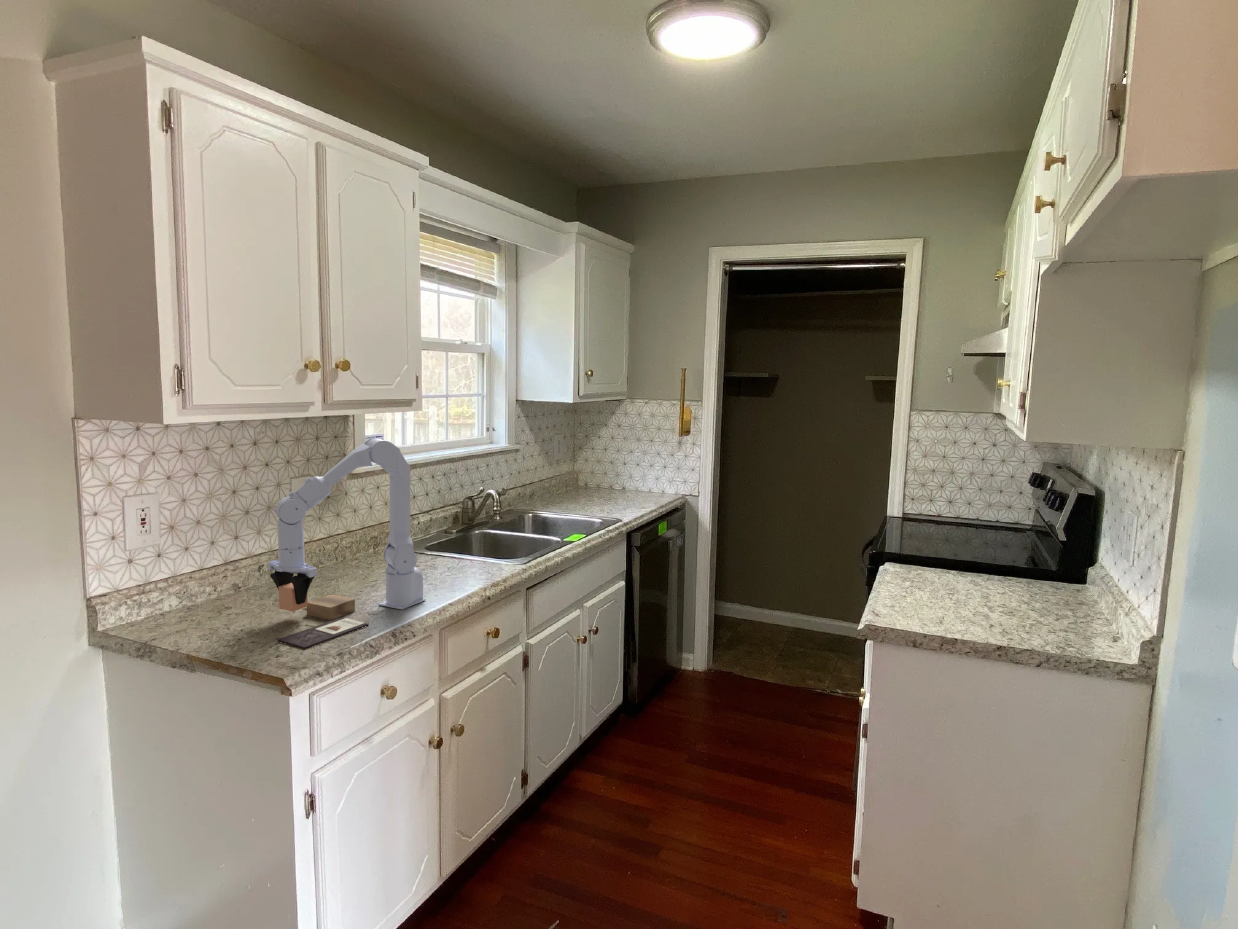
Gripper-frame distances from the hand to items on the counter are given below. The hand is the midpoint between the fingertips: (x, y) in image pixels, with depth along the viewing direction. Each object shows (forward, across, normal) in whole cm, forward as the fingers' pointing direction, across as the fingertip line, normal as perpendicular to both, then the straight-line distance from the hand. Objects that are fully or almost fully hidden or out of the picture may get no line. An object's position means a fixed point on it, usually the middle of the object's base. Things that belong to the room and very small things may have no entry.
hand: (293, 601), depth 179 cm
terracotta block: (+2, 0, 0) cm, 2 cm away
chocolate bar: (+5, +14, -4) cm, 15 cm away
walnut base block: (+5, +4, +8) cm, 10 cm away
